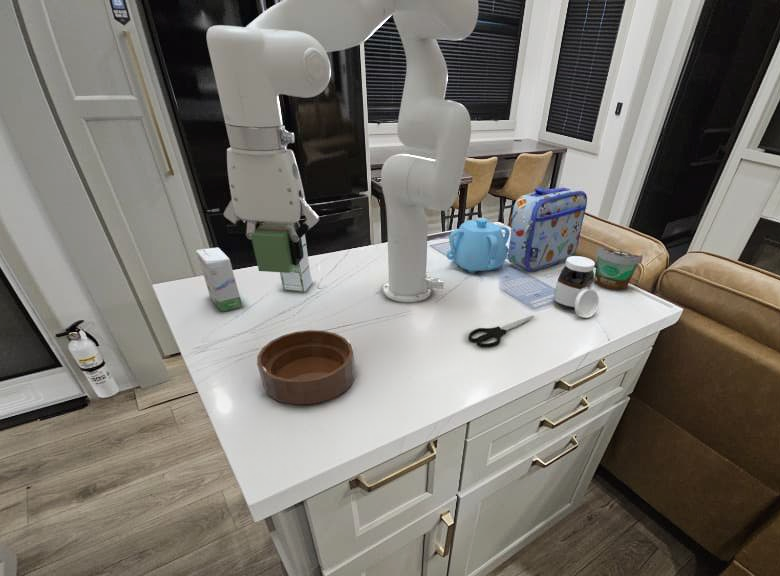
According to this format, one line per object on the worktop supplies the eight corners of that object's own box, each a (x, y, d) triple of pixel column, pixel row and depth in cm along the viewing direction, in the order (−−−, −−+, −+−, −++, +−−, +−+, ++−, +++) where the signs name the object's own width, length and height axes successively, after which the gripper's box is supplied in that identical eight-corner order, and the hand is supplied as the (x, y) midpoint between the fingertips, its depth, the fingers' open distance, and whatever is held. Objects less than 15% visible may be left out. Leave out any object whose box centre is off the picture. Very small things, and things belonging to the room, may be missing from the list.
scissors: (521, 311, 103) (463, 337, 92) (521, 308, 102) (463, 334, 91) (542, 322, 99) (485, 351, 88) (543, 319, 98) (485, 347, 87)
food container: (586, 286, 118) (596, 251, 112) (588, 278, 122) (598, 244, 116) (631, 295, 114) (644, 260, 108) (632, 287, 119) (644, 253, 113)
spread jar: (563, 293, 113) (573, 251, 106) (603, 306, 108) (617, 263, 101) (544, 309, 105) (554, 264, 98) (587, 324, 100) (600, 278, 93)
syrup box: (313, 283, 109) (304, 227, 100) (304, 293, 104) (295, 235, 95) (291, 281, 109) (281, 224, 100) (282, 290, 104) (270, 232, 95)
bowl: (360, 355, 84) (358, 331, 81) (347, 408, 71) (344, 383, 68) (279, 352, 83) (273, 328, 80) (250, 405, 70) (243, 379, 67)
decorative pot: (490, 281, 116) (497, 232, 108) (440, 267, 122) (443, 220, 113) (511, 263, 128) (519, 218, 120) (465, 251, 133) (469, 207, 125)
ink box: (243, 307, 97) (230, 258, 89) (221, 312, 94) (205, 262, 87) (231, 293, 102) (218, 245, 94) (210, 298, 99) (194, 249, 92)
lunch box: (525, 278, 119) (540, 197, 106) (498, 267, 125) (509, 188, 112) (578, 258, 135) (597, 185, 121) (552, 248, 141) (567, 177, 127)
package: (301, 257, 74) (295, 222, 70) (289, 273, 69) (282, 235, 65) (272, 255, 74) (265, 220, 70) (258, 271, 68) (250, 233, 65)
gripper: (323, 139, 63) (335, 256, 74) (208, 131, 62) (238, 250, 74) (310, 147, 57) (325, 273, 68) (183, 138, 56) (220, 267, 68)
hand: (280, 260), depth 71 cm, fingers closed on package, 5 cm apart
